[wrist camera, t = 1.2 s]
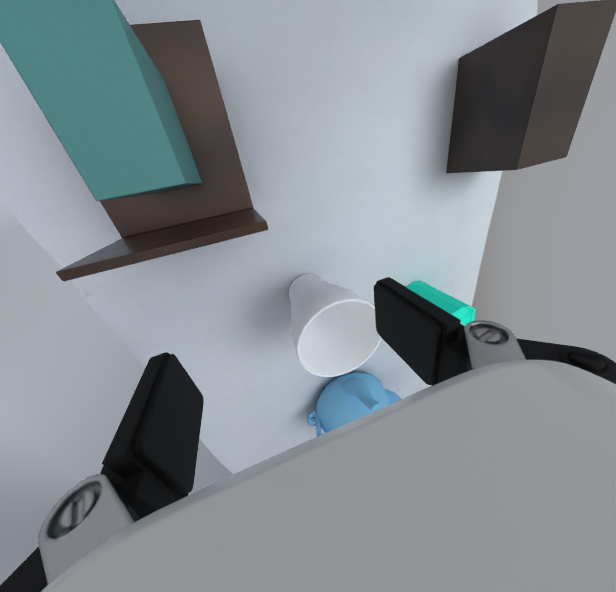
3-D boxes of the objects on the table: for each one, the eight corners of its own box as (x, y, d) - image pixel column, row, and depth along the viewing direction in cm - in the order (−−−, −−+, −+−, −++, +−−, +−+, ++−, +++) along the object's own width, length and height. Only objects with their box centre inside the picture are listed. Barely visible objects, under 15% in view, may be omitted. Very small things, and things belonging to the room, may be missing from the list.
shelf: (69, 79, 20) (-297, -160, 6) (207, 64, 22) (172, -137, 8) (149, 230, 26) (62, 281, 13) (249, 207, 28) (268, 229, 15)
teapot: (394, 374, 53) (434, 420, 43) (348, 427, 57) (374, 481, 47) (344, 353, 45) (379, 404, 35) (294, 416, 49) (312, 480, 38)
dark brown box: (459, 58, 28) (558, 3, 20) (508, 51, 30) (620, -2, 21) (446, 173, 35) (517, 169, 26) (486, 163, 36) (566, 157, 28)
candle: (402, 313, 45) (453, 350, 35) (399, 289, 42) (453, 322, 32) (427, 300, 46) (484, 333, 35) (426, 275, 43) (488, 304, 32)
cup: (340, 306, 40) (386, 356, 28) (284, 327, 38) (308, 390, 26) (330, 251, 34) (381, 284, 23) (265, 272, 33) (284, 320, 21)
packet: (97, 87, 16) (-28, -4, 8) (164, 79, 17) (108, -10, 9) (149, 194, 19) (96, 201, 12) (202, 183, 20) (186, 183, 12)
